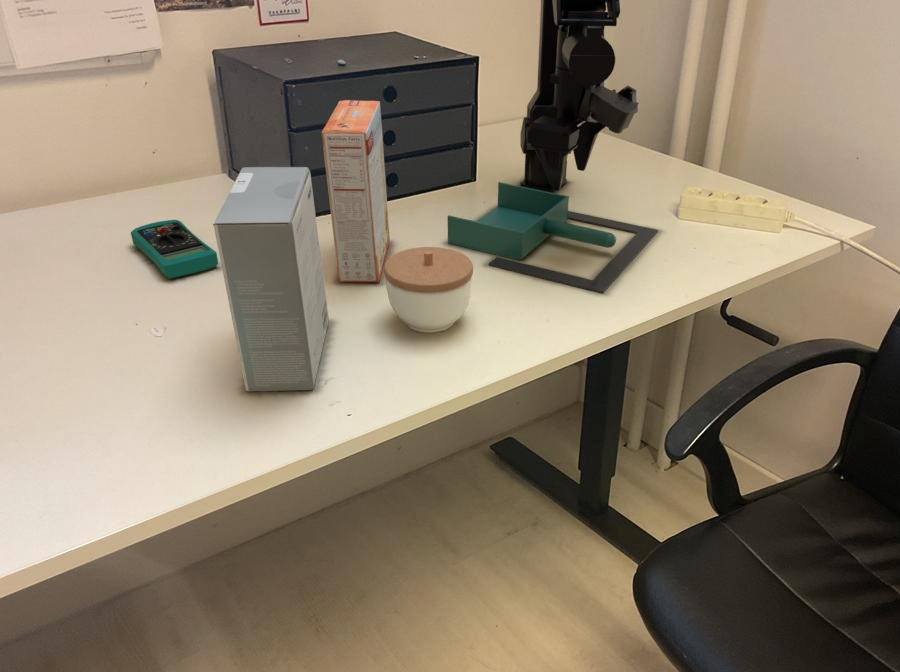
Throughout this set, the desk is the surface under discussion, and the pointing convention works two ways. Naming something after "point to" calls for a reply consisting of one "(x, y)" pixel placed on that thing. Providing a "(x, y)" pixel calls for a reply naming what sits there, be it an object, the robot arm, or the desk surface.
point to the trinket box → (429, 287)
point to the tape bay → (606, 274)
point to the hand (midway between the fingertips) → (569, 179)
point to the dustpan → (522, 224)
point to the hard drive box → (274, 277)
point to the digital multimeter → (174, 248)
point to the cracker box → (357, 189)
